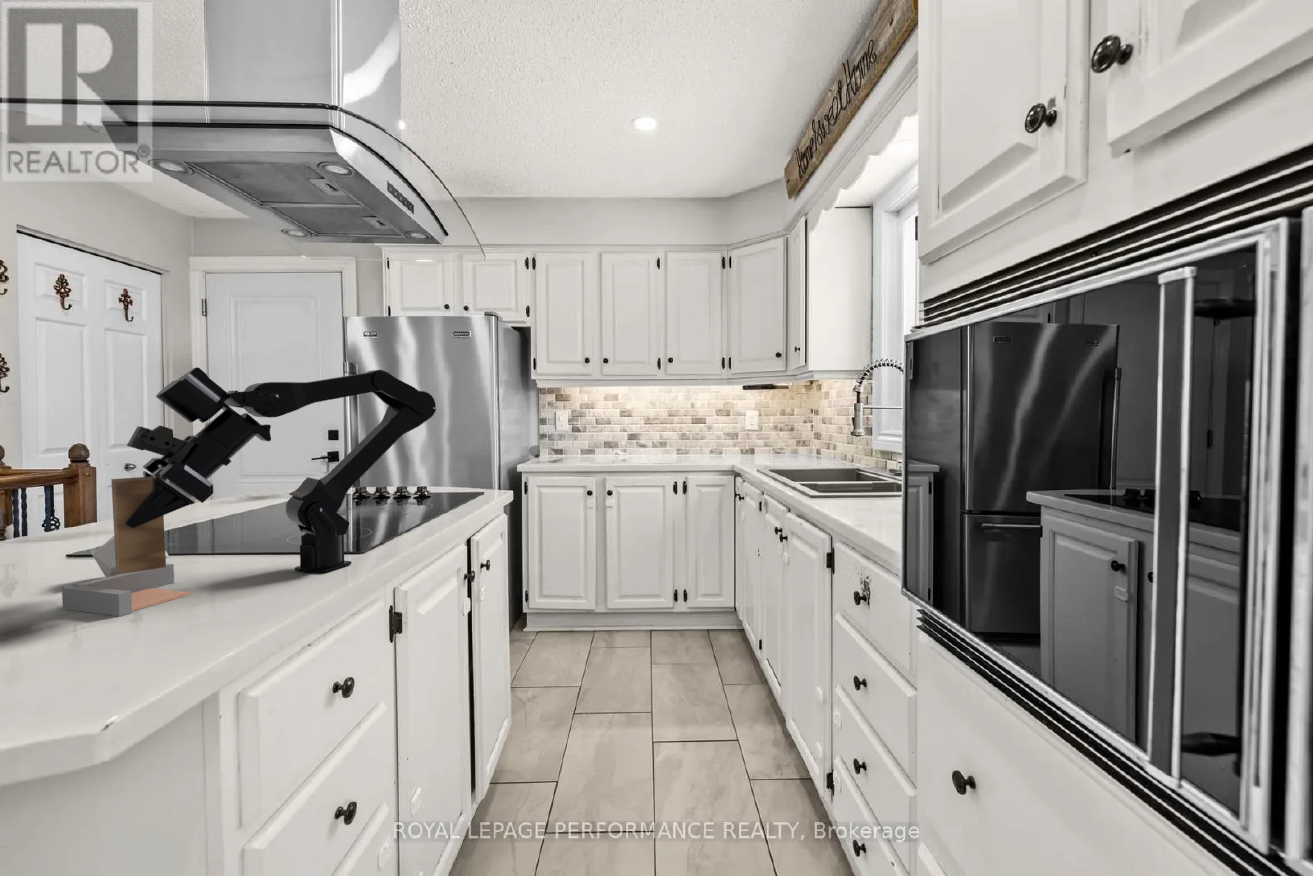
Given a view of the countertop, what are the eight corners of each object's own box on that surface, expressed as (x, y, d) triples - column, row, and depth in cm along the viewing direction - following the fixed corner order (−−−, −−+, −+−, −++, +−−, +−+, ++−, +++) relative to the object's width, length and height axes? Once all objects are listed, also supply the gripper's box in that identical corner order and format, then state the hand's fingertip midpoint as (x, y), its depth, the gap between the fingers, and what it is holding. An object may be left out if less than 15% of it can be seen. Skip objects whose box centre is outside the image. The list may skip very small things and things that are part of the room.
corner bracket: (167, 581, 96) (166, 563, 96) (219, 587, 93) (218, 568, 93) (62, 608, 83) (61, 587, 83) (119, 616, 80) (118, 594, 80)
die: (114, 592, 92) (161, 538, 96) (66, 565, 92) (115, 512, 96) (147, 596, 100) (189, 546, 103) (102, 571, 100) (146, 521, 103)
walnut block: (160, 561, 90) (156, 476, 89) (166, 567, 87) (161, 478, 86) (115, 568, 86) (111, 479, 86) (120, 574, 83) (115, 482, 82)
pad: (150, 590, 91) (150, 588, 91) (189, 594, 89) (189, 592, 89) (89, 606, 84) (88, 604, 84) (130, 611, 82) (130, 609, 82)
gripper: (158, 407, 94) (64, 482, 87) (181, 406, 82) (73, 494, 74) (220, 453, 101) (137, 527, 93) (250, 459, 88) (157, 546, 81)
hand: (126, 523), depth 85 cm, fingers closed on walnut block, 5 cm apart
